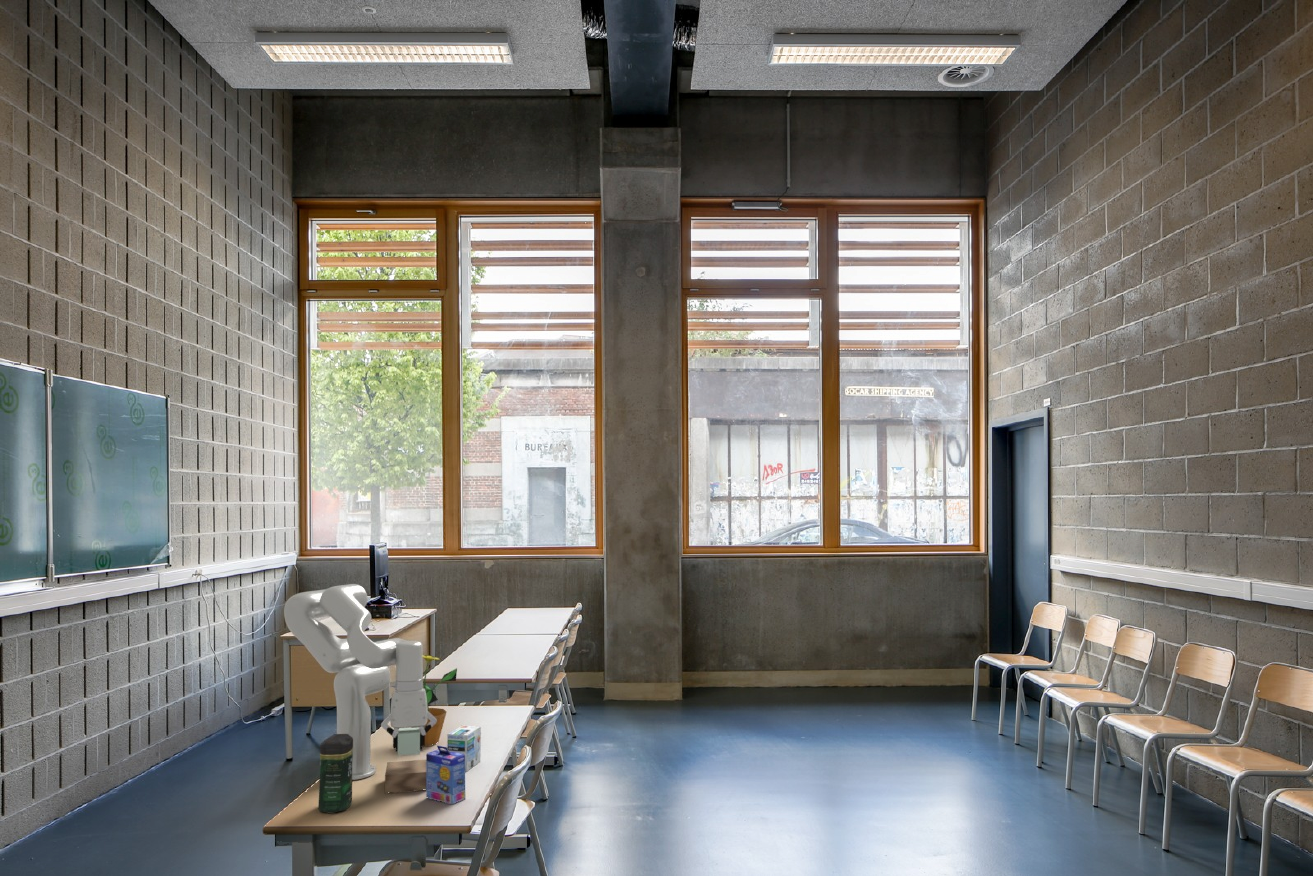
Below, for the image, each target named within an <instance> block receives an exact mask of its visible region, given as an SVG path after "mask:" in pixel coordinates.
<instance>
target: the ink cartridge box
mask: <svg viewBox="0 0 1313 876" xmlns="http://www.w3.org/2000/svg"><path fill="white" fill-rule="evenodd" d="M436 748H437V749H435V750H433V751H430V752H427V753H426V758H425V760H426V790H425V791H426V792H425V793H426V794H425V795H426V797H428V798H431V799H430V800H432V799H434V800H433V801H436V800H437V801H436V802H440V801H442V802H441V803H444V802H445V803H444V804H447V805H454V804H456V802H457V803H459V802H461V801H464V800H466V771H465V755H464V754H462V753H457V752H450V751H449V750H448V748H447V746H442V745H436ZM458 801H459V802H458Z"/></svg>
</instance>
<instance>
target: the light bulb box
mask: <svg viewBox="0 0 1313 876" xmlns="http://www.w3.org/2000/svg"><path fill="white" fill-rule="evenodd" d="M481 729H482V727H481V726H473V725H460V726H459V727H457V728H456V729H453V730H452V731H451V732H449V733H448V734H447V735H446V736H447V739H446V740H447V742H446V743H447V744H446V745H447V746H446V747H447V748H448V750H449V751H450V752H457V753H462V754H464V755H465V772H469V771H470V770H471V769H472V768H475V766H477V765H478V764H479V763H481V756H482V755H481V754H482V753H481V746H482V745H481V744H482V742H481V739H482V737H481V735H482V731H481ZM469 769H470V770H469Z"/></svg>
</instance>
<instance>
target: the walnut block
mask: <svg viewBox="0 0 1313 876" xmlns="http://www.w3.org/2000/svg"><path fill="white" fill-rule="evenodd" d="M423 789H426V759H417V760H416V759H415V760H402V761H388V762H387V763H386V768H385V774H384V794H385V793H387V794H389V793H388V792H399V793H406V792H405V791H411V792H415V791H414V790H423Z"/></svg>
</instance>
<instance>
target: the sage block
mask: <svg viewBox="0 0 1313 876" xmlns="http://www.w3.org/2000/svg"><path fill="white" fill-rule="evenodd" d="M420 754H421V750H420V729H419V727H417V728H411V727H410V728H399V731H398V752H397V756H398V757H401V756H404V757H405V756H414V755H420Z"/></svg>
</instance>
